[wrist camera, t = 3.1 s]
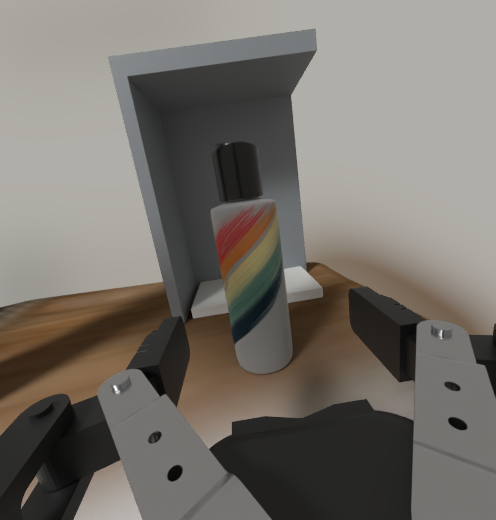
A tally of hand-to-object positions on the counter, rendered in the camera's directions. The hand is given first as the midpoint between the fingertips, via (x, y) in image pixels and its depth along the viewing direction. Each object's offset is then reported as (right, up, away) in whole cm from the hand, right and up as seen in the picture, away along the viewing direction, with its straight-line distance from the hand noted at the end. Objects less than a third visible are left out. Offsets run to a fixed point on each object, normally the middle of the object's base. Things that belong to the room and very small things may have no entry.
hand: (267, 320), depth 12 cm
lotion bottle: (+1, -7, +13) cm, 15 cm away
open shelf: (0, -3, +30) cm, 30 cm away
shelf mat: (0, -3, +29) cm, 30 cm away
